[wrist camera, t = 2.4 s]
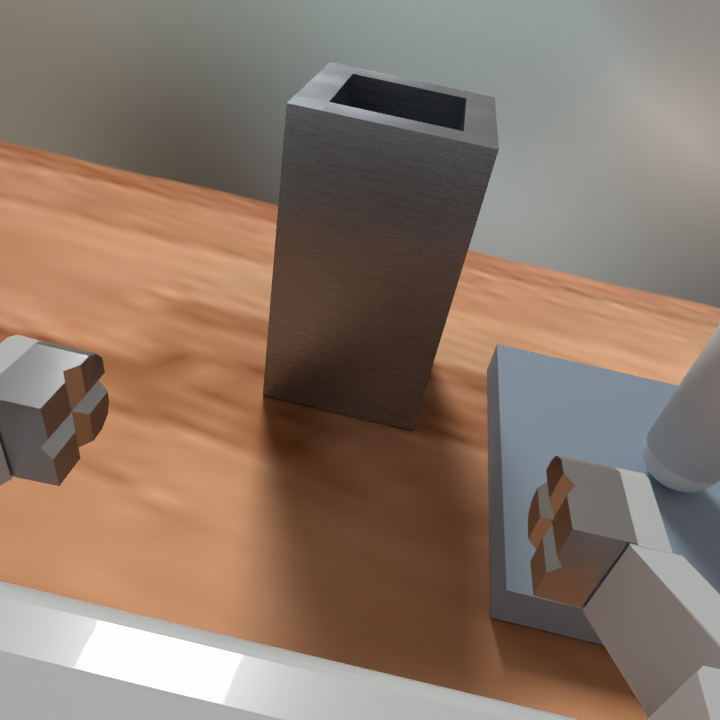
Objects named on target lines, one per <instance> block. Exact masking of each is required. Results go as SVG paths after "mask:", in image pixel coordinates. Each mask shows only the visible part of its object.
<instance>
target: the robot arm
mask: <svg viewBox="0 0 720 720" xmlns="http://www.w3.org/2000/svg"><path fill="white" fill-rule="evenodd" d="M104 373H105V370H104V365H103V360H102V357H100V356H99V355H97V354H96V353H92V352H87V351H83V350H79V349H75V348H71V347H67V346H63V345H59V344H55V343H51V342H47V341H40V340H36V339H32V338H28V337H24V336H20V335H15V336H11V337H8V338H6V339H5V340H4V341H3V342H2V343H1V344H0V485H2V484H4V483H6V482H7V481H9V480H11V479H12V477H11V476H13V477H18V478H23V479H28V480H32V481H37V482H42V483H47V484H52V485H57V486H60V484H61V483H62V482H63V480H64V479H65V478H66V477H67V475H68V474H69V473H70V471H71V470H72V469H73V467H74V466H75V465H76V463H77V462H78V461H79V459H80V453H79V447H81V446H83V445H85V444H87V443H89V442H91V441H93V440H94V439H95V438H96V437H97V435H98V434H99V432H100V431H101V430H102V428H103V425H104V423H105V420H106V417H107V415H108V407H109V398H108V391H107V390H106V389H105V387H104V386H103V385H102V384H101V383H100V382H99V379H100V377H101V376H102V375H103V374H104ZM546 475H547V483H545V484H543V485H541V486H539V487H537V490H536V492H535V494H534V496H533V498H532V501H531V505H530V509H529V514H528V539H529V541H530V542H531V543H532V545H533V546H534V547H535V549H536V551H535V553H534V555H533V557H532V559H531V561H530V565H531V576H532V587H533V596H537V597H540V598H544V599H548V600H552V601H556V602H560V603H564V604H568V605H571V606H575V607H579V608H583V613H584V614H585V616H586V617H587V619H588V621H589V622H590V624H591V625H592V627H593V629H594V630H595V632H596V634H597V635H598V637H599V638H600V640H601V642H602V643H603V645H604V646H605V648H606V650H607V651H608V653H609V654H610V656H611V658H612V659H613V661H614V662H615V664H616V666H617V667H618V669H619V671H620V672H621V674H622V675H623V677H624V679H625V680H626V682H627V683H628V685H629V687H630V688H631V690H632V691H633V693H634V695H635V696H636V698H637V700H638V701H639V703H640V704H641V706H642V708H643V709H644V711H645V712H646V714H647V716H648V717H649V718H648V719H647V720H720V594H719V593H718V592H717V591H716V590H715V589H714V588H713V587H712V586H711V585H710V584H709V583H708V582H707V581H706V580H705V579H704V578H703V577H702V576H701V575H700V574H699V573H698V571H697V570H696V569H695V568H694V567H693V566H692V565H691V564H690V563H689V562H688V561H687V560H686V559H685V558H684V557H683V556H682V555H677V554H673V551H672V548H671V545H670V542H669V539H668V536H667V533H666V530H665V527H664V523H663V520H662V517H661V514H660V511H659V508H658V505H657V502H656V499H655V496H654V493H653V489H652V486H651V483H650V480H649V478H648V477H647V476H646V475H645V474H644V473H639V472H634V471H629V470H625V469H620V468H612V467H608V466H603V465H599V464H594V463H589V462H585V461H580V460H575V459H571V458H566V457H561V456H557V455H556V456H555V457H554V458H553V459H552V460H551V462H550V464H549V466H548V467H547V469H546ZM0 720H579V719H575V718H571V717H567V716H563V715H558V714H554V713H550V712H546V711H542V710H538V709H533V708H529V707H525V706H521V705H517V704H512V703H508V702H504V701H500V700H496V699H492V698H487V697H483V696H479V695H475V694H471V693H466V692H462V691H458V690H454V689H450V688H445V687H441V686H437V685H433V684H429V683H424V682H420V681H416V680H412V679H408V678H403V677H399V676H395V675H391V674H387V673H383V672H378V671H374V670H370V669H366V668H362V667H357V666H353V665H349V664H345V663H341V662H336V661H332V660H328V659H324V658H320V657H315V656H311V655H307V654H303V653H299V652H294V651H290V650H286V649H282V648H278V647H273V646H269V645H265V644H261V643H257V642H253V641H248V640H244V639H240V638H236V637H232V636H227V635H223V634H219V633H215V632H211V631H206V630H202V629H198V628H194V627H190V626H186V625H181V624H177V623H173V622H169V621H165V620H160V619H156V618H152V617H148V616H144V615H139V614H135V613H131V612H127V611H123V610H118V609H114V608H110V607H106V606H102V605H98V604H93V603H89V602H85V601H81V600H77V599H73V598H68V597H64V596H60V595H56V594H52V593H47V592H43V591H39V590H35V589H31V588H27V587H22V586H18V585H14V584H10V583H6V582H1V581H0Z"/></svg>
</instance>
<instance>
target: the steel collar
mask: <svg viewBox="0 0 720 720" xmlns="http://www.w3.org/2000/svg"><path fill="white" fill-rule="evenodd" d="M498 149H499V148H498V136H497V123H496V110H495V98H494V97H489V96H485V95H480V94H475V93H471V92H466V91H462V90H457V89H453V88H447V87H443V86H439V85H434V84H429V83H424V82H420V81H415V80H411V79H406V78H402V77H397V76H392V75H388V74H383V73H379V72H374V71H369V70H365V69H360V68H356V67H351V66H346V65H342V64H336V63H332V62H330V63H329V64H328V65H327V66H326V67H325V68H324V69H322V70H321V71H320V72H319V73H318V74H317V75H316V76H315V77H314V78H313V79H312V80H311V81H310V82H309V83H308V84H306V85H305V86H304V87H303V88H302V89H301V90H300V91H299V92H298V93H297V94H296V95H295V96H294V97H293V98H292V99H290V100H289V101H288V102H287V106H286V118H285V131H284V143H283V156H282V168H281V181H280V192H279V204H278V216H277V229H276V241H275V253H274V266H273V278H272V290H271V302H270V315H269V327H268V339H267V352H266V364H265V376H264V388H263V396H267V397H271V398H276V399H280V400H284V401H288V402H293V403H297V404H301V405H305V406H310V407H314V408H318V409H322V410H327V411H331V412H335V413H339V414H344V415H348V416H352V417H356V418H361V419H365V420H369V421H373V422H378V423H382V424H386V425H390V426H395V427H399V428H403V429H407V430H412V431H413V427H414V424H415V421H416V418H417V414H418V411H419V408H420V405H421V401H422V398H423V395H424V391H425V388H426V385H427V382H428V378H429V375H430V372H431V369H432V365H433V362H434V359H435V356H436V352H437V349H438V346H439V342H440V339H441V336H442V333H443V329H444V326H445V323H446V320H447V316H448V313H449V310H450V307H451V303H452V300H453V297H454V293H455V290H456V287H457V284H458V280H459V277H460V274H461V271H462V267H463V264H464V261H465V258H466V254H467V251H468V248H469V244H470V241H471V237H472V235H473V231H474V228H475V225H476V221H477V218H478V215H479V212H480V208H481V205H482V202H483V199H484V195H485V192H486V189H487V186H488V182H489V179H490V176H491V172H492V169H493V166H494V162H495V159H496V156H497V153H498Z"/></svg>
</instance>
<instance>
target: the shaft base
mask: <svg viewBox="0 0 720 720" xmlns="http://www.w3.org/2000/svg"><path fill="white" fill-rule="evenodd" d="M487 397H488V468H489V539H490V609H491V618H494V619H498V620H502V621H507V622H511V623H515V624H519V625H523V626H527V627H531V628H535V629H539V630H543V631H547V632H552V633H556V634H560V635H564V636H568V637H572V638H576V639H580V640H584V641H588V642H592V643H597V644H601V645H603V643H602V642H601V640H600V638H599V637H598V635H597V634H596V632H595V630H594V629H593V627H592V625H591V624H590V622H589V621H588V619H587V617H586V616H585V614H584V613H583V608H579V607H575V606H571V605H568V604H564V603H560V602H556V601H552V600H548V599H544V598H540V597H537V596H533V587H532V576H531V565H530V561H531V559H532V557H533V555H534V553H535V551H536V549H535V547H534V546H533V545H532V543H531V542H530V541H529V539H528V514H529V509H530V505H531V501H532V498H533V496H534V494H535V492H536V490H537V487H539V486H541V485H543V484H545V483H547V475H546V469H547V467H548V466H549V464H550V462H551V460H552V459H553V458H554V457H555V456H556V455H557V456H561V457H566V458H571V459H575V460H580V461H585V462H589V463H594V464H599V465H603V466H608V467H612V468H620V469H625V470H629V471H634V472H639V473H644V474H645V475H646V476H647V477H648V478H649V480H650V483H651V486H652V489H653V493H654V496H655V499H656V502H657V505H658V508H659V511H660V514H661V517H662V520H663V523H664V527H665V530H666V533H667V536H668V539H669V542H670V545H671V548H672V551H673V554H677V555H682V556H683V557H684V558H685V559H686V560H687V561H688V562H689V563H690V564H691V565H692V566H693V567H694V568H695V569H696V570H697V571H698V573H699V574H700V575H701V576H702V577H703V578H704V579H705V580H706V581H707V582H708V583H709V584H710V585H711V586H712V587H713V588H714V589H715V590H716V591H717V592H718V593H719V594H720V324H719V325H718V327H717V328H716V330H715V332H714V333H713V335H712V336H711V338H710V339H709V341H708V342H707V344H706V345H705V347H704V348H703V350H702V351H701V353H700V354H699V356H698V357H697V359H696V361H695V362H694V364H693V365H692V367H691V368H690V370H689V371H688V373H687V374H686V376H685V377H684V379H683V380H682V382H681V383H680V385H679V386H677V385H672V384H668V383H664V382H659V381H655V380H650V379H646V378H642V377H637V376H633V375H629V374H624V373H620V372H616V371H611V370H607V369H603V368H598V367H594V366H590V365H585V364H581V363H576V362H572V361H568V360H563V359H559V358H555V357H550V356H546V355H542V354H537V353H533V352H529V351H524V350H520V349H516V348H511V347H507V346H502V345H498V344H497V346H496V349H495V351H494V354H493V356H492V359H491V362H490V364H489V367H488V369H487Z"/></svg>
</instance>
